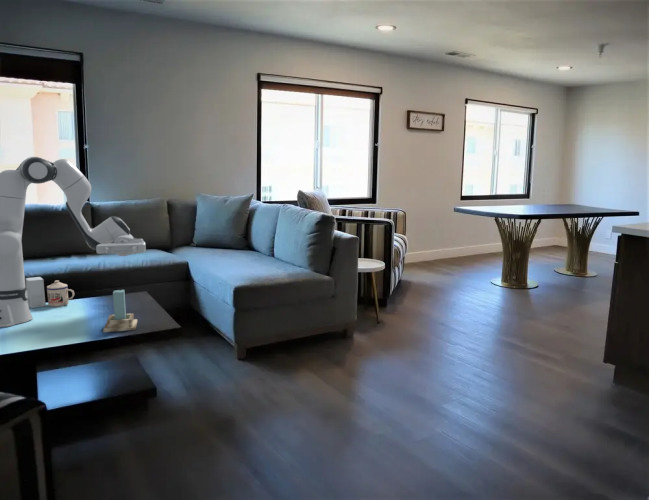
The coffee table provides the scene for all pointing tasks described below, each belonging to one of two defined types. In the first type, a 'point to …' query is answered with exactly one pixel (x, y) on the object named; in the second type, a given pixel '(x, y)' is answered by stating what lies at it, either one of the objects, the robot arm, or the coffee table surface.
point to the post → (119, 304)
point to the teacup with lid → (58, 294)
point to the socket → (120, 323)
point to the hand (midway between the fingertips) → (119, 250)
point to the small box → (35, 292)
